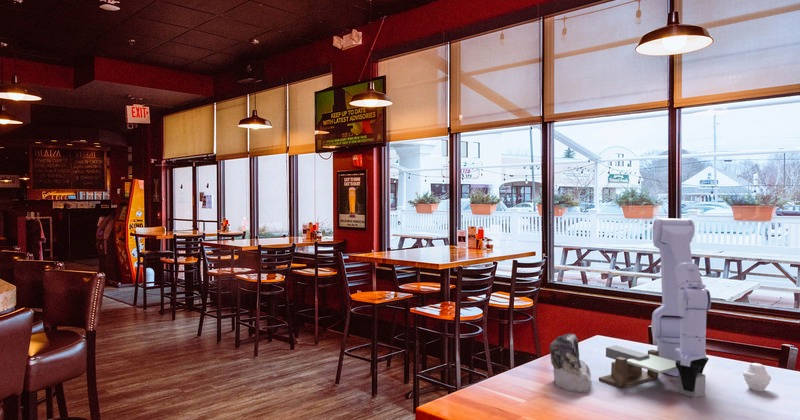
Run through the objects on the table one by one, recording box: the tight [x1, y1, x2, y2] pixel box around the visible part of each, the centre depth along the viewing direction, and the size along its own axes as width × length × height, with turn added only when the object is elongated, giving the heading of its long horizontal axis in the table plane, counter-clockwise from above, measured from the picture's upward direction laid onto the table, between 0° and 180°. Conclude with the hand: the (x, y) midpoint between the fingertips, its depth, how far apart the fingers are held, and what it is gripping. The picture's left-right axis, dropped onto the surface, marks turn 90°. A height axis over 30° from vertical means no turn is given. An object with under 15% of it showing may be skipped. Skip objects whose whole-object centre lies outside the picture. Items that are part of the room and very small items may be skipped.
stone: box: [549, 332, 593, 393], centre depth 142 cm, size 14×10×15 cm
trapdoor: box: [605, 345, 677, 374], centre depth 144 cm, size 11×18×3 cm, turn 31°
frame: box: [598, 349, 659, 389], centre depth 147 cm, size 16×7×8 cm, turn 121°
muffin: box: [742, 362, 772, 392], centre depth 140 cm, size 6×6×7 cm
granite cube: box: [677, 373, 707, 398], centre depth 137 cm, size 4×4×5 cm
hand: (691, 387), depth 137 cm, fingers closed on granite cube, 6 cm apart
